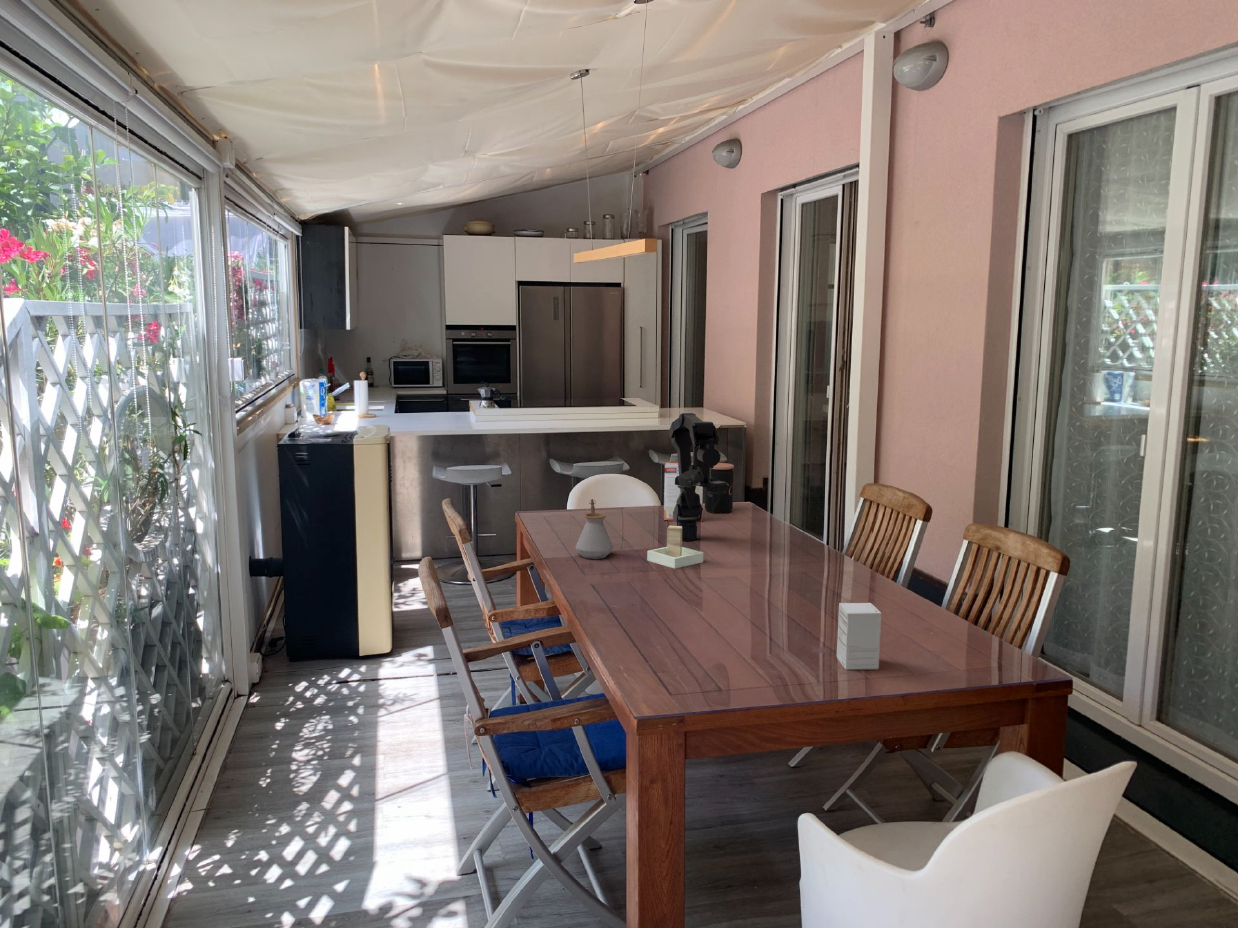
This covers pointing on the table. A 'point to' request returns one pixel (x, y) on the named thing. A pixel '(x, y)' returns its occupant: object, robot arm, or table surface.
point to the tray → (675, 562)
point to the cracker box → (674, 490)
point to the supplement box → (858, 636)
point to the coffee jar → (726, 501)
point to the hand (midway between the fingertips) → (700, 510)
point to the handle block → (674, 541)
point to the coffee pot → (594, 536)
